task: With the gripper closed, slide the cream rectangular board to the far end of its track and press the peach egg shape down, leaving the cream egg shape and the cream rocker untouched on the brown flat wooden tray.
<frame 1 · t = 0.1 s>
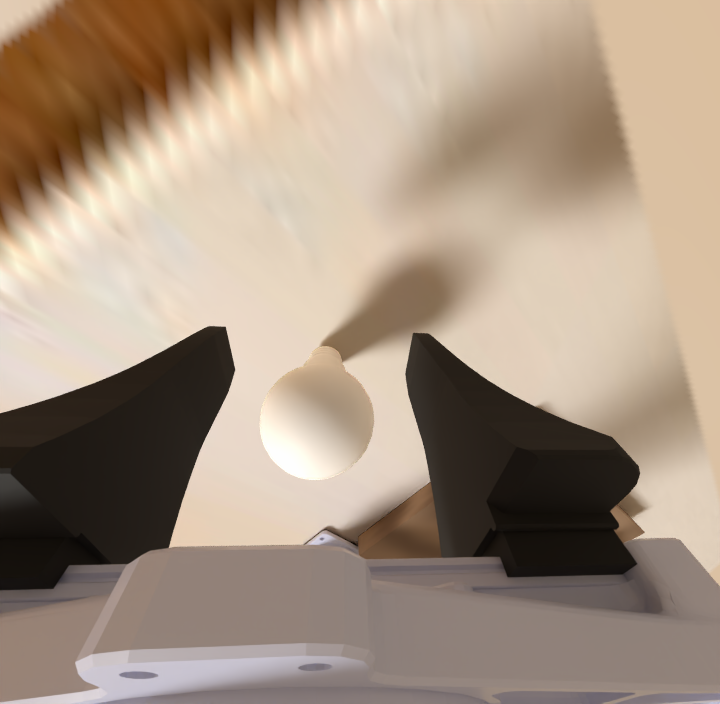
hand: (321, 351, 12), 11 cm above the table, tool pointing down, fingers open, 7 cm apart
brown flat wooden tray: (494, 526, 33), on the table
lightbulb: (326, 355, 24), on the table
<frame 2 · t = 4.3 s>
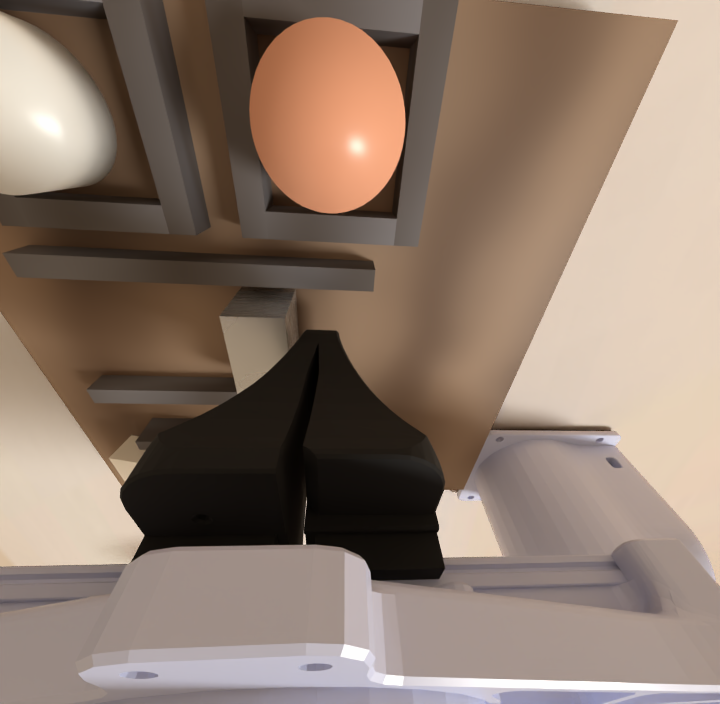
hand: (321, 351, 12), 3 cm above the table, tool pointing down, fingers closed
cream egg shape: (7, 107, 6), point 4 cm above the table, slide at 0.0 cm
peach egg shape: (330, 131, 7), point 4 cm above the table, slide at 0.0 cm
cream rectangular board: (268, 353, 11), point 3 cm above the table, slide at 0.4 cm, touching gripper
brown flat wooden tray: (293, 330, 15), on the table
cream rocker: (177, 475, 16), point 4 cm above the table, hinge at 10.0°
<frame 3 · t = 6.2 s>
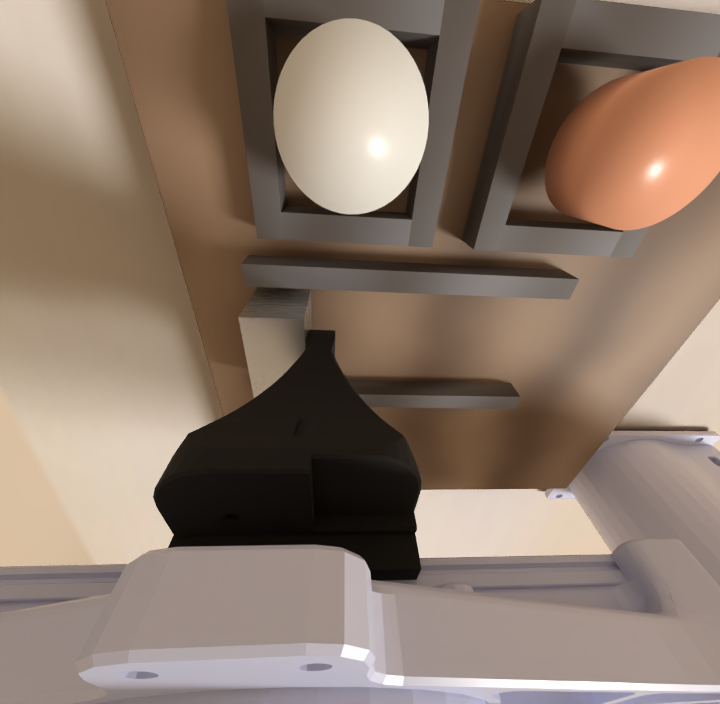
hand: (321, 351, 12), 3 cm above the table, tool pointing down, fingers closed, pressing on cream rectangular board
cream egg shape: (351, 132, 7), point 4 cm above the table, slide at 0.0 cm
peach egg shape: (630, 154, 7), point 4 cm above the table, slide at 0.0 cm
cream rectangular board: (283, 354, 11), point 4 cm above the table, slide at 7.3 cm, touching gripper
brown flat wooden tray: (438, 334, 15), on the table
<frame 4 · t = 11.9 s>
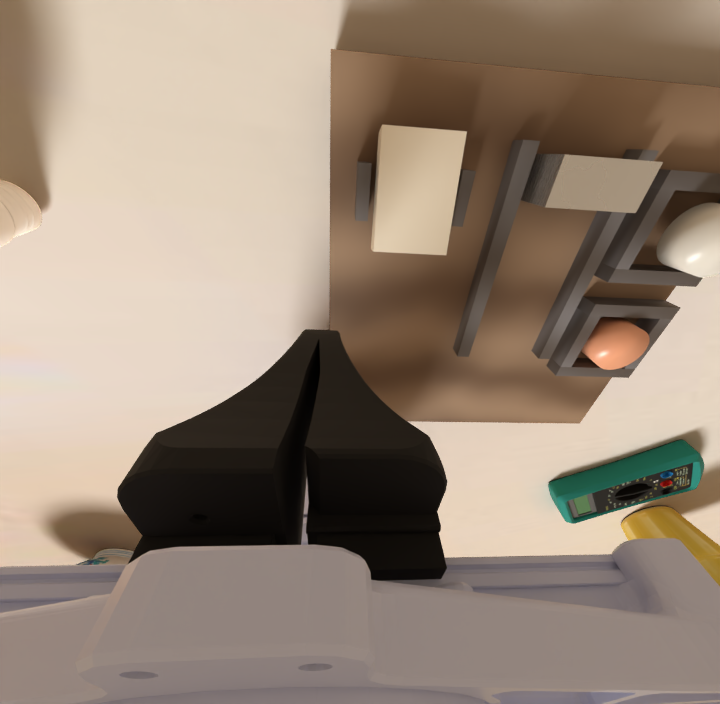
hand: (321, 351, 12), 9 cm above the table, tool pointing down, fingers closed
cream egg shape: (707, 240, 15), point 4 cm above the table, slide at 0.0 cm
chinaware: (123, 557, 42), on the table
peach egg shape: (611, 342, 20), point 3 cm above the table, slide at 1.4 cm
cream rectangular board: (584, 182, 14), point 4 cm above the table, slide at 7.0 cm
brown flat wooden tray: (488, 292, 21), on the table
lightbulb: (30, 203, 17), on the table
digital multimeter: (610, 471, 35), on the table
plant pot: (645, 516, 41), on the table
cream rocker: (413, 196, 14), point 4 cm above the table, hinge at 10.0°
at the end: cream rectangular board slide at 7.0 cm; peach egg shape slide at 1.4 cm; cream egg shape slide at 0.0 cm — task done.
